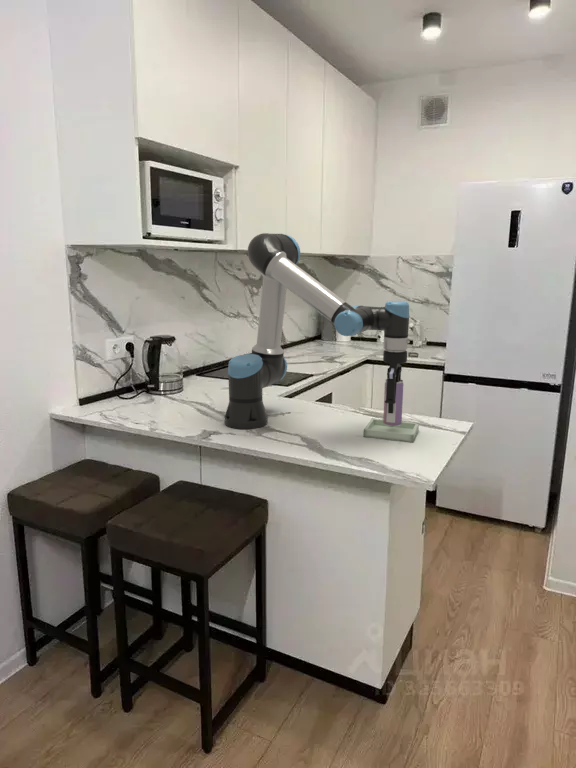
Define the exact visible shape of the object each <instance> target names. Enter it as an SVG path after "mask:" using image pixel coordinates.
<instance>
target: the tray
mask: <svg viewBox="0 0 576 768" xmlns="http://www.w3.org/2000/svg"><path fill="white" fill-rule="evenodd" d="M419 427H420V423H419V422H411V421H402V423H401V425H400V426H398V427H389V426H386V425H384V423H383V419H382V418H373V417H372V418H371V419H370V420H369V422H368V423H367V424H366V425H365V427H364V429H363V438H371V439H380V440H385V441H386V440H387V441H388V440H390V441H397V442H405V443H414V442H415V440H416V437H417V434H418V432H419Z"/></svg>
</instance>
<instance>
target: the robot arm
mask: <svg viewBox="0 0 576 768" xmlns="http://www.w3.org/2000/svg"><path fill="white" fill-rule="evenodd" d="M300 247H301V246H300V245H299V243H298V242H297V240H296V239H295V238H294V237H292V236H291V235H288V234H284V233H269V232H268V233H266V232H263V233H260V234H257V235H255V236H254V237H253V238H252V239H251V240H250V242H249V243H248V246H247V257H248V260H249V262H250V263H251V265H252V266H253V267H254V268H255V269H256V270H257V271H258V272H259V274H261V275H260V276H262V286H261V296H260V298H261V299H260V309H259V317H258V318H259V319H258V328H257V336H256V337H257V338H256V343H255V345H254V346H252V348H251V353H250V354H249V353H246V354H243V355H242V354H239V355H235V356H233V357H232V358H231V359H230V360H229V361H228V368H227V375H228V401H229V402H228V403H227V408H226V411H225V414H224V425H226V426H227V427H229V428H233V429H239V430H250V429H257V428H262V427H264V426H266V425H267V424H268V422H269V421H268V418H269V417H268V414H267V410H266V407H265V404H264V401H263V389H264V388H266V387H269V386H272V385H273V386H274V385H276V384H277V383H279V382H280V381H282V380H283V378H284V377H285V376H286V375H287V374H286V373H287V371H288V362H287V360H286V359H285V357H286V356H284V353H285V350H284V349H283V348H282V346H281V343H282V342H281V341H282V334H283V325H284V324H283V323H284V315H285V308H286V307H285V306H286V297H287V290H288V291H290V292H291V293H293V294H294V295H295V296H296V297H298V298H299V299H301V300H302V301H303V302H304V303H306V304H308V306H310V307H311V308H312V309H314V310H315V311H317V313H318V314H320V315H321V316H323V317H324V318H326V319H327V320H328V321H330V322H331V323H332V324H333V325H334V328H335V330H336V332H337V333H338V334H339V335H341V336H344V337H351V336H357V335H358V334H359V333H363V332H366V331H383V332H384V335H383V349H384V350H383V354H382V355H383V359H382V360H383V362H384V363H386V364H389V366H388V368H387V371H386V377H387V378H386V379H387V394H386V401H385V403H387V416H386V422H391V423H395V411H396V403H395V398H396V384H397V382H399V380H400V379H401V380H402V378H401V377H402V376H401V375H402V372H403V370H402V367H403V366H402V365H403V364H406V363H407V361H408V351H407V350H408V344H410V342H411V341H410V339H409V327H410V303H409V302H407V301H405V300H403V301H402V300H388V301H386V302H385V304H384V305H385V306H381V307H380V306H369V305H368V306H367V305H365V306H364V305H350V304H349V303H347V302H346V301H345V300H344V299H342V297H340V296H338V295H337V293H334V292H333V291H332V290H330V289H329V288H328V287H326V286H325V285H324V284H322V283H321V282H320V281H318V280H317V279H316V278H314V277H313V276H312V275H310V274H309V273H308V272H306V271H305V270H304V269H302V268H301V267H300V266H298V265H297V264H298V263H299V261H300V258H301V248H300ZM408 339H409V340H408ZM401 364H402V365H401Z"/></svg>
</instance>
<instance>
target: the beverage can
mask: <svg viewBox="0 0 576 768" xmlns="http://www.w3.org/2000/svg"><path fill="white" fill-rule="evenodd" d="M386 394H387V378H386V379H385V382H384V393H383V396H384V397H383V415H382V417H383V423H384V425H386V426H389V427H398V426H400V425H401V423H402V422H403V421H402V420H403V403H404V402H403V400H404V380H403V379H402V378H401V379H400V380H399V382H397V384H396V398H395V403H396V411H395V423H391V422H386V416H387V403H385V401H386Z"/></svg>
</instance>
